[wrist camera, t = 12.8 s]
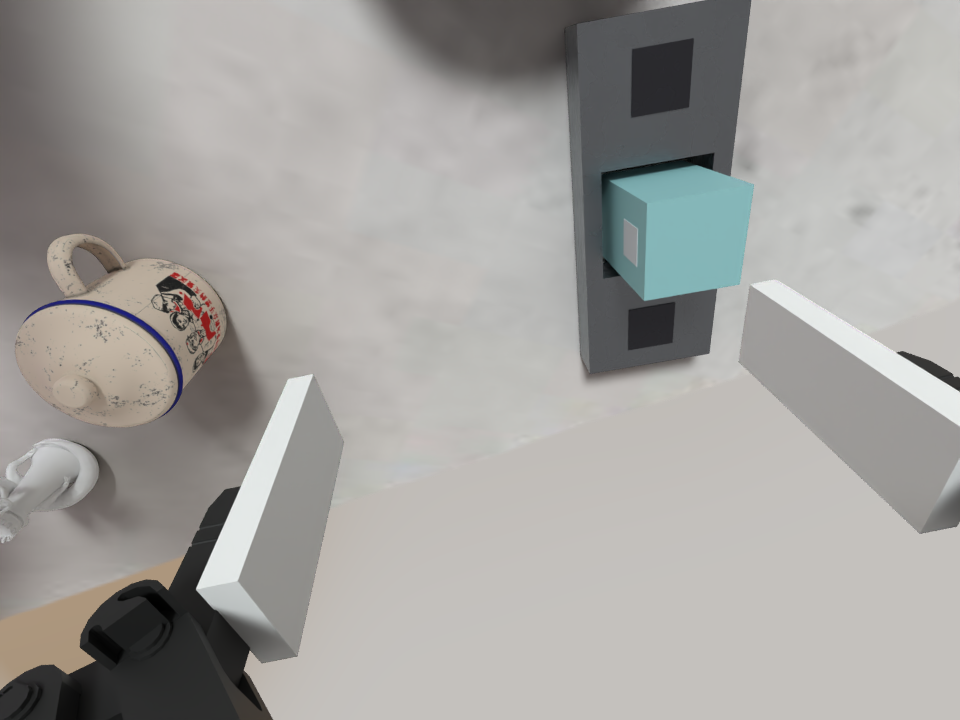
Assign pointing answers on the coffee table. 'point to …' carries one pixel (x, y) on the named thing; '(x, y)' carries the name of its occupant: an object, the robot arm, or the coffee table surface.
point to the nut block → (675, 228)
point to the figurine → (45, 483)
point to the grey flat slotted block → (647, 156)
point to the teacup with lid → (118, 336)
